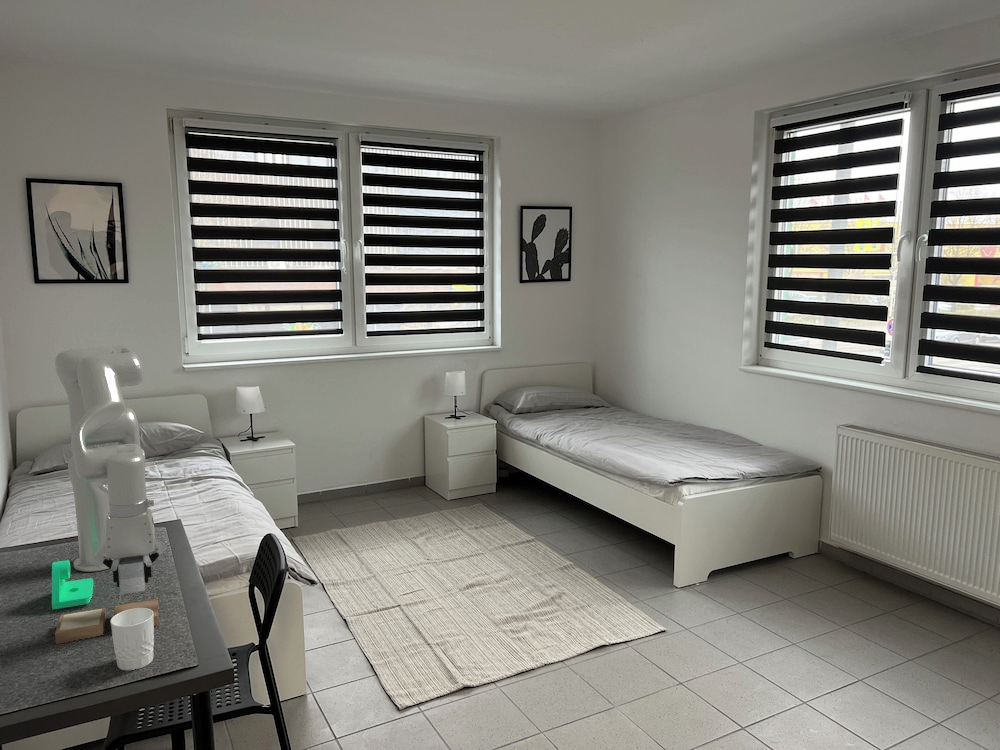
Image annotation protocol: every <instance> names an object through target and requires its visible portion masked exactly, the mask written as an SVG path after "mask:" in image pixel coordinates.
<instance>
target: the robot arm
mask: <svg viewBox="0 0 1000 750" xmlns="http://www.w3.org/2000/svg"><path fill="white" fill-rule="evenodd" d="M54 365H55V370H56V371H55V372H56V374H57V376H58V378H59V381H60V383H61V384H62V387H63V388H64V390H65V392H66V395H67V401H68V410H69V420H70V422H69V423H70V431H71V438H70V439H71V441H70V443H71V444H70V448H71V453H72V456H71V457H70V459H69V460H68V463H67V471H68V474H69V475H68V476H69V478H70V482H71V486H72V491H73V497H74V505H75V506H74V507H75V508H74V509H75V516H76V517H75V518H76V528H77V529H76V530H77V542H78V552H79V557H77V558H76V559H75V560H73V568H74V569H75V570H76V571H80V572H99V571H104V570H111V571H112V577H113V578H112V579H113V583H114V584H115V583H116V588H120V586H119V570H118V563H119V559H120V558H127V557H134V556H143V559H144V561H145V563H144V576H145V584H148V583H149V578H150V579H151V578H152V577H153V575H152V564H154V562H155V561H156V560H157V559H158V558H160V556H161V555H163V553H165V552H166V551H167V548H168V547H167V545H166V544H165V543H163V542H162V541H161V540H160V539H159V538H158V537H156V532H155V531H156V530H155V523H154V522H155V521H154V517H153V513H152V510H151V508H150V507H155V506H154V504H155V503H154V502H155V501H154V499H149V498H147V484H146V467H145V466H146V453H145V450H144V449H143V448H142V446H141V437H140V427H139V420H138V417H137V415H136V413H135V411H134V410H133V409H132V408H131V407H127V406H126V404H125V399H124V395H123V392H122V388H124V387H133V386H134V387H135V386H138V385H140V384H141V383H142V382H143V380H144V375H145V374H144V366H143V363H142V361H141V359H140V357H139V355H137V353H136V352H135V351H134V350H132V349H130V348H129V347H128V346H120V345H119V346H118V345H117V346H101V347H99V346H98V347H81V348H80V347H78V348H73V349H71V348H70V349H66V350H62V351H60V352H58V353H57V355H56V356H55V359H54ZM114 443H115V444H116V443H119V444H116V445H109V444H114ZM100 445H107V446H100ZM90 446H91V447H92V446H93V448H88V447H90ZM94 446H100V447H94ZM104 485H107V488H105V487H104ZM156 548H157V549H156Z"/></svg>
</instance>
